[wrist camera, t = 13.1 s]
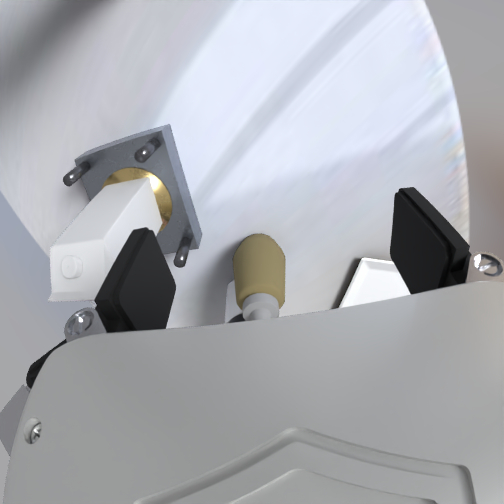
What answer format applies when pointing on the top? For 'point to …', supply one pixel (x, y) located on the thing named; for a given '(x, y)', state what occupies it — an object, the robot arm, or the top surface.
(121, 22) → the top surface
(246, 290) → the squeeze bottle
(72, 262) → the milk carton
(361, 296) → the plate
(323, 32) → the top surface
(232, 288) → the jar
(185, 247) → the grey pegged base
